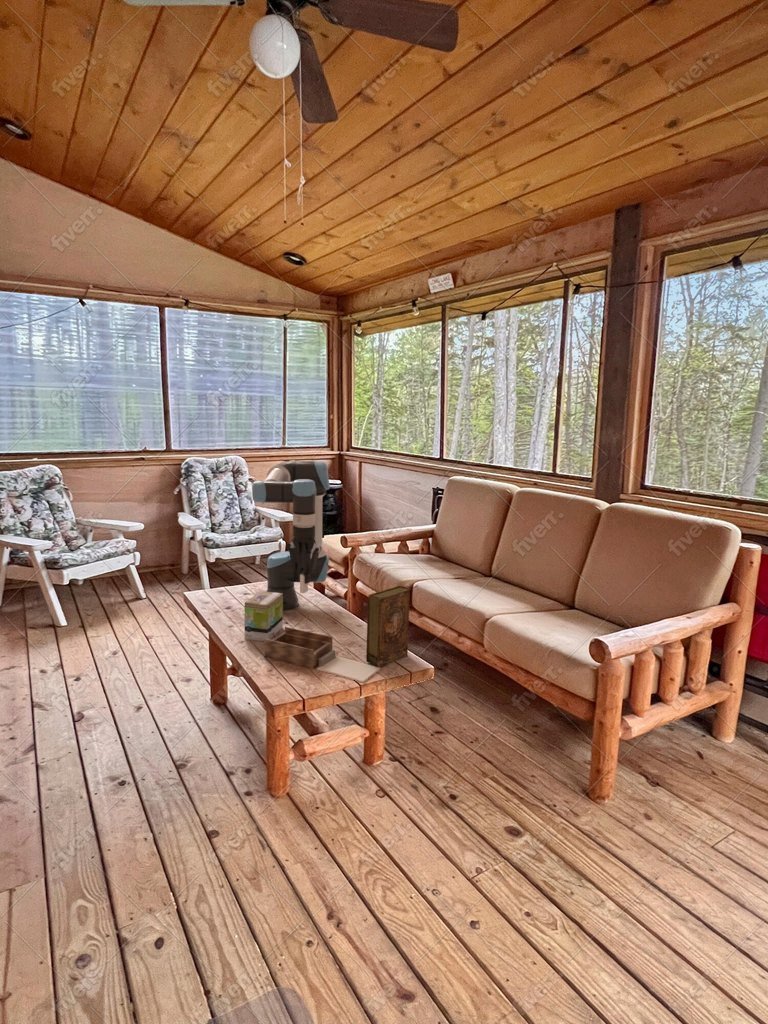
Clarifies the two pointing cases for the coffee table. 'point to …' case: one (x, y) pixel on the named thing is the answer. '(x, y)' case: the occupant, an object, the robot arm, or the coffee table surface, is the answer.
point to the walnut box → (298, 647)
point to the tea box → (263, 615)
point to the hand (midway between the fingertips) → (303, 591)
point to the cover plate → (346, 667)
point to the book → (387, 625)
